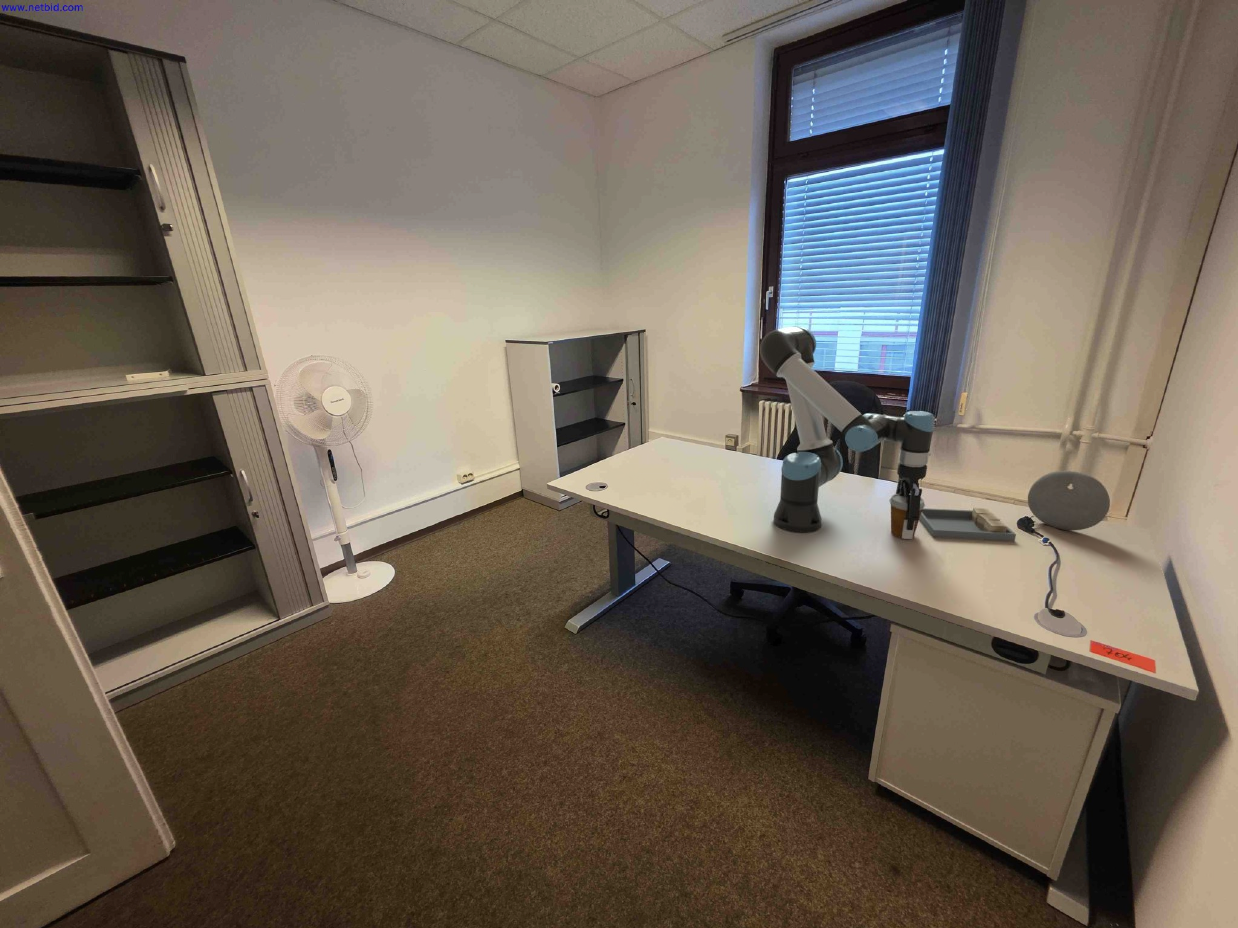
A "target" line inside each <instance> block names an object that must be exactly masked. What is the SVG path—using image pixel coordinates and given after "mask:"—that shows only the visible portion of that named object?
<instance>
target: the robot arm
mask: <svg viewBox="0 0 1238 928" xmlns="http://www.w3.org/2000/svg"><path fill="white" fill-rule="evenodd" d="M816 348H817V340H816V337H815V335H814V333H812V331H811V330H810V329H807V328H805V327H802V326H791V327H785V328H784V327H783V328H779V329H778V328H777V329H774V330H771V331H770V332H768V333H767V334H765V336H764V337H763V338H762V340H761V342H760V345H759V355H760V358H761V360H762V361H763V363H764V364H765V366H766V367H767V368H768V369H769V370H770V371H771V372H772V373H773V374H774V375H775V376H776V377H778V378H783V379H785V383H786V386H787V390H788V396H789V400H790V405H791V407H792V411H793V418H794V421H795V425H796V429H797V434H798V438H799V443H800V444H799V445H798V446H797V448H796V449H797V450H796V451H797V452H792V453H790V454H787V455H786V456H785V457H784V458H783V460H782V464H781V475H780V477H781V479H780V480H781V481H780V496H779V497H780V499H779V502H778V505H777V507H776V509H775V511H774V513H773V523H774V525H775V526H777V527H778V528H780V529H782V530H783V531H784V530H785V531H787V532H793V533H801V534H802V533H812V532H815V531H818V530H819V529H820V528H821V527H822V520H823V519H822V516H821V512H820V508H819V505H818V499H819V488H821V486H823V485H826V484H827V483H828V482H830V481H833V480H835V478H836V477H837V476H838V475H839V474H840V472H841V471H842V469H843V464H844V463H843V462H844V461H843V457H842V454H841V453H840V451H839V450H838V449H836V447H835V445H834V443H833V440H831V439H830V438H829V437H827V433H826V430H825V425H824V421H823V416H824V418H826V419H827V420H828V421H829V422H830V423H831V424H832V425H833V426H834V427H836V429H837V430H838V431H840V433H842V434H843V435H844V441H845V444H846V446H847V447H848V448H849V449H850V450H851V451H854V452H859V453H861V452H866V451H868V450H871V449H874V447H875V446H876V445H878V444H880V443H882V442H883V441H887V442H895V443H900V447H899V455H898V464H897V470H896V471H897V472H896V474H897V475H898V482H897V485H896V486H897V487H896V491H895V494H900V496H905V497H906V503H907V510H906V518H903V519H904V526H903V532H902V539H905V540H906V539H909V540H913V538H914V537H913V531H914V525H915V521H919V511H920V500H921V498H922V494H923V489H922V488H920V483H919V480H922V479H924V478H926V476H927V471H928V463H929V457H931V452H930V451H931V444H932V439H933V434H934V425H935V416H934V414H933V413H931V412H928V411H923V410H910V411H906V412H905V414H904V416H894V415H886V414H880V413H864V414H862V413H861V412H860V411H859V410H857V408H855V406H854V405H852V404H851V403H850V402H849V401H848V400H847V399H846V398H845V397H844V396H842V395H841V394H840V392H838V391H837V390H836V389H835V388H834V387H833V386H832V385H830V383H828V381H826V380H825V379H824V378H823V377H822V376H821V375H819V374H818V372H816V370H814V369H813V367H814V364H815V358H814V353H815V351H816ZM822 415H823V416H822ZM909 494H910V495H909ZM919 522H920V521H919Z"/></svg>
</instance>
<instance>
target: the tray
mask: <svg viewBox="0 0 1238 928" xmlns="http://www.w3.org/2000/svg"><path fill="white" fill-rule="evenodd" d="M972 512H973V509H972V510H970V509H969V510H967V509H965V510H964V509H948V508H947V509H945V508H943V509H941V508H925V507H924V508H923V509H922V512H921V516H920V519H919V522H920V523H921V525H922V526H923V528H925V530H926V531H927V532H928V533H929V535H930V536H931V537H932V538H940V539H943V538H944V539H956V540H958V539H959V540H960V539H961V540H974V541H992V542H993V541H994V542H995V541H996V542H1012V543H1015V541H1016V536H1017V533H1015V532H1014V531H1013V530H1012V529H1011V528H1009V527H1008V526H1007V529H1006V533H1003V532H984V531H983V530H981V529H980V528H978V527H977V526H976V524H974V523H973V521H972V520H971V518H972ZM992 515H994V516H996V515H995V514H993V513H992Z"/></svg>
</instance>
